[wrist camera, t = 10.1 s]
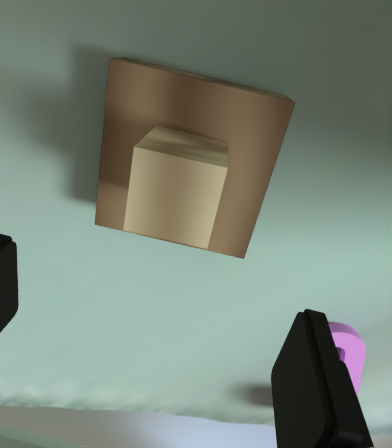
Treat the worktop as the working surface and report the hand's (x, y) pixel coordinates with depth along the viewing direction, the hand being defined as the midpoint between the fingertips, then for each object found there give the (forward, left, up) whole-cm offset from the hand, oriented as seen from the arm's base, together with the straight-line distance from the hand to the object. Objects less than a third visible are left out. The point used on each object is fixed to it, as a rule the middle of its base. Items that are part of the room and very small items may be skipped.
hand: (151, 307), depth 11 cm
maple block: (+1, 0, -15) cm, 15 cm away
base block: (+1, 0, -19) cm, 19 cm away
